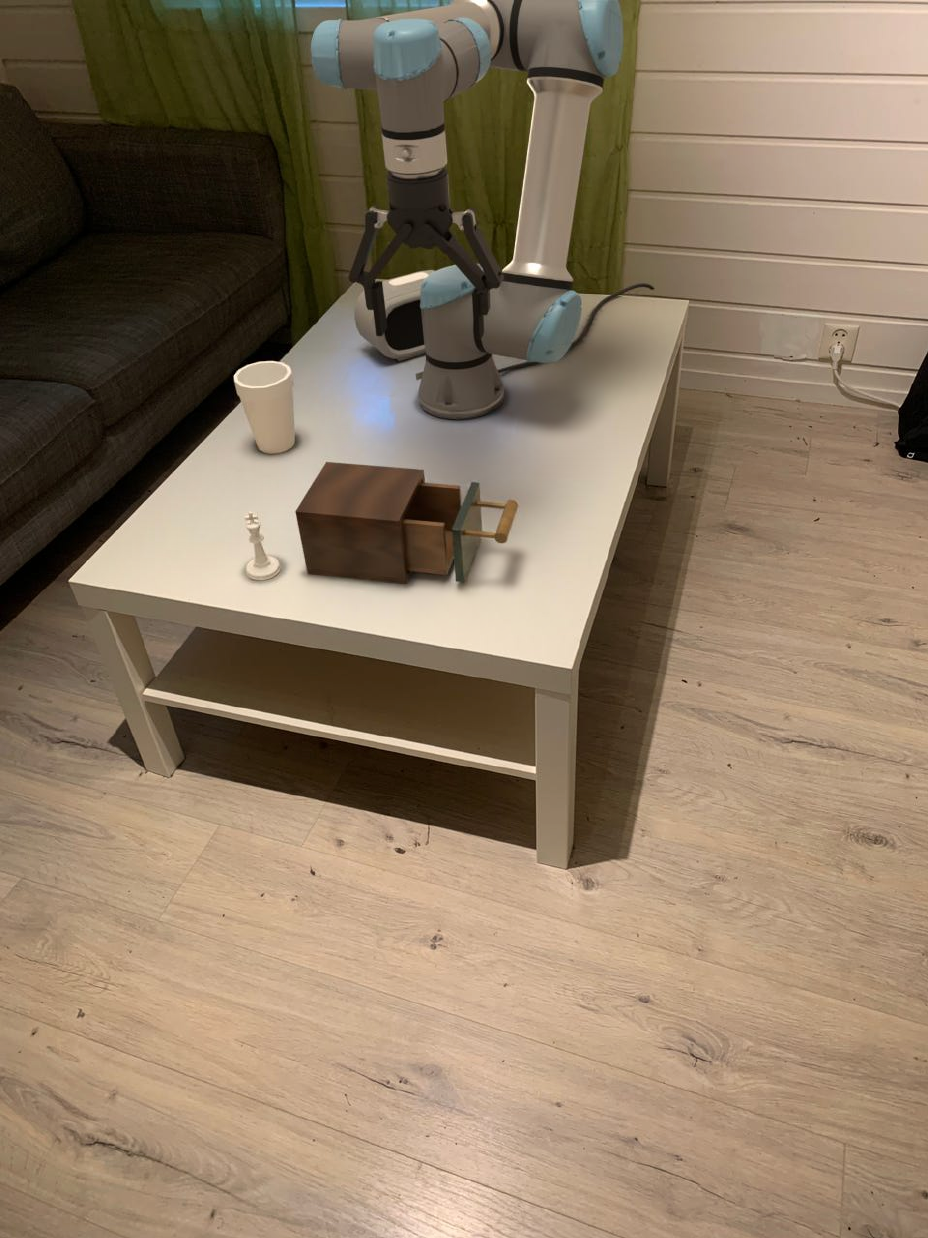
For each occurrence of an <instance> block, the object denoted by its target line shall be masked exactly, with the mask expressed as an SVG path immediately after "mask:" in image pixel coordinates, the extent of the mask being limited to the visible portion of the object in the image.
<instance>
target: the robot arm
mask: <svg viewBox="0 0 928 1238" xmlns="http://www.w3.org/2000/svg"><path fill="white" fill-rule="evenodd" d="M622 15H623V14H622V10H621V6H620V3H619V0H452V1H451V2H450V3H449V4H448V5H442V6H435V7H430V8H425V9H417V10H412V11H405V12H400V13H399V12H398V13H394V14H387V15H381V16H377V17H371V18H365V19H358V20H357V19H356V20H354V19H353V20H349V19H347V20H346V19H344V18H339V19H329V20H328V19H327V20H324V21H322V22H320V23H319V24H318V25H317V26H316V28H315V29H314V32H313V35H312V39H311V43H310V54H311V65H312V69H313V72H314V74H315V75H316V77H317V79H318V81H320V82H321V83H322V84H323V85H325V86H328V87H333V88H334V87H335V88H340V89H341V90H347V89H355V90H356V89H357V90H370V91H371V90H374V91H377V97H378V98H377V99H378V107H379V114H380V115H379V116H380V121H381V122H380V123H381V126H380V127H381V140H382V148H383V158H384V166H385V169H386V170H387V171H388V172H387V173H386V177H385V179H386V188H387V199H388V206H389V208H388V210H384V209H381V208H380V207H379V206H378V205H372V206H371V207H370V208H369V209H368V210H367V212H366V213H365V215H364V225H365V226H364V232H363V235H362V238H361V241H360V244H359V246H358V249H357V251H356V255H355V257H354V260H353V263H352V266H351V269H350V272H349V273H348V281H349V282H350V283H352V284H355V283H357V284H360V285H361V286H362V287H363V291H364V292H365V300H366V307H367V309H368V310H373V312H374V320H375V329H376V336H382V335H383V334H384V332H385V331H386V329H387V320H386V311H385V302H384V293H383V284H382V280H381V281H380V280H379V281H378V280H377V278H378V277H379V276H380V274H381V273H382V272H383V270H384V269H385V268H386V266H387V265H388V263H389V262H390V261H391V259H392V258H393V256H395V254H396V253H397V251H398V250H399V249H400V247H401V246H402V245H405V246H406V247H408V249H415V250H416V249H418V248H422V249H426V250H433V249H434V248H436V247H437V248H438V249H439V250H440V252H442V253H443V254H444V255H446V256H447V257H448V258H449V259H450V260H451V262H452V263H453V264H454V265H449V266H445V267H443V268H439V269H436V270H434V271H435V272H433V273H431V274H430V275H428V276H427V277H426V278H425V279H424V280H423V282H422V284H421V303H420V308H421V313H422V323H423V334H424V345H425V353H424V354H425V362H424V367H423V371H420V372H417V373H415V380H416V381H419V380H420V383H419V387H418V402H419V406H420V407H421V408H422V410H423V411H425V412H426V413H427V414H428V415H432V416H434V417H438V418H440V419H446V420H468V419H473V418H479V417H482V416H485V415H487V414H489V413H492V412H493V411H495V410H497V409H498V408H499V407H500V406H501V405H502V403H503V401H504V398H505V389H504V383H503V381H502V378H501V376H500V374H502V373H505V372H509V371H512V370H515V369H520V368H524V367H529V366H532V365H537V364H539V363H544V364H553V363H557V362H559V361H560V360H561V359H563V358H564V357H565V355H566V354H567V353H568V351H570V350H571V349H573V348H574V347H575V346H577V345H578V344H579V343H580V342H581V341H582V339H583V338H584V337H585V334H586V333H587V331H588V329H589V327H590V325H591V323H592V321H593V318H594V316H595V314H596V313H597V311H598V310H599V309H600V308H601V307H602V306H603V305H604V304H606V303H607V302H608V301H610V300H611V299H614V298H616V297H618V296H620V295H622V294H625V293H627V292H629V291H632V290H634V289H638V288H647V289H649V290H651V291H654V290H655V287H654V286H653V285H651V284H650V283H645V282H643V283H636V284H633V285H630V286H627V287H626V288H623V289H621V290H618V291H616V292H615V293H612V294H609V295H608V296H606V297H605V298H603V299H602V300H601V301H600V302H599V303H598V304H596V306H595V307H594V308H592V311H591V312H590V314H589V316H588V319H587V321H586V323H585V325H584V327H583V329H582V330H581V333H579V335H578V337H577V338H576V335H577V332H578V330H579V326H580V322H581V317H582V309H583V308H582V298H581V296H580V294H579V293H578V292H576V291H575V290H573V285H574V278H573V276H572V275H571V274H570V272H569V271H568V269H567V262H568V255H569V249H570V242H571V236H572V228H573V223H574V215H575V209H576V201H577V195H578V188H579V182H580V175H581V169H582V163H583V156H584V149H585V143H586V136H587V130H588V123H589V122H588V121H589V116H590V109H591V104H592V102H593V101H594V100H595V99H596V98H598V97H599V96H601V94H602V93H603V90H604V82H605V78H607V79H610V78H611V77H614V76H615V75H616V74H617V73H618V71H619V68H620V65H621V63H622V58H623V51H624V50H623V49H624V22H623V16H622ZM489 68H493V69H499V70H500V69H501V70H507V71H514V72H526V73H527V76H526V77H527V78H526V84H527V86H528V87H529V88H530V89H531V91H532V92H533V96H534V99H533V100H534V101H533V108H532V115H531V123H530V129H529V137H528V143H527V144H528V145H527V152H526V153H527V154H526V160H525V166H524V167H525V168H524V176H523V182H522V190H521V198H520V204H519V211H518V221H517V227H516V233H515V234H516V236H515V243H514V251H513V258H512V260H511V262H510V263H509V264H507V265H506V266H505V267H504V268H503V269H501V268H500V266H499V264H498V262H497V259H496V258H495V255H494V254H493V252H492V250H491V248H490V246H489V245H488V242H487V240H486V239H485V236H484V235H483V233H482V231H481V229H480V227H479V224H478V218H477V217H478V216H477V212H476V209H475V208H474V207H469V208H467V209H466V210H463V211H455V212H454V211H453V209H452V207H451V202H450V187H449V171H448V170H447V168H446V167H445V166H446V165H447V164H448V153H447V140H446V125H445V110H444V108H445V106H444V102H447V101H448V100H449V99H451V98H453V97H455V96H457V95H459V94H461V93H463V92H466V91H468V90H470V89H471V88H474V86H475V85H476V84H477V83H478V82H480V81H481V80H482V79H483V78H484V76H486V74H487V72H488V71H489ZM386 222H387V224H388V225H389V227H390V228H391V229H392V230H393V232H394V233H395V236H394V237H393V238H392V240H391V241H390V242H389V244H388V245H387V247H386V248H385V249H384V251H383V252H382V254H381V255H380V256H379V258H378V259H377V260H376V262H375V263H374V264H373V266H372V268H371V269H370V270H369V271H365V268H366V265H367V262H368V260H369V258H370V254H371V252H372V249H373V246H374V243H375V240H376V238H377V236H378V233H379V230H380V229H381V228H382V227H383V226H384V224H385V223H386ZM453 224H455V225H457V227H458V229H459V230H460V231H462V232H463V233H464V236H465V239H466V241H467V243H468V245H469V247H470V248H471V251H472V253H473V254H474V256H475V258H476V260H477V262H478V263H477V262H476V261H475V260H474V258H473V257H472V256H471V255H470V254H469V253H468V252H467V250H466V249H465V248H464V247H463V246H462V244H460V242H459V241H458V238H457V237H456V235H455V233H453V231H452V230H451V227H452V226H453ZM376 280H377V281H376ZM575 338H576V339H575ZM493 355H496V356H502V357H508V358H513V359H518V360H524V361H525V362H522V363H521V362H520V363H517V364H512V365H510V366H505V367H502V368H500V369H499V368H497V365H496V363H495V359H494V358H493Z"/></svg>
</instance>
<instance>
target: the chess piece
mask: <svg viewBox="0 0 928 1238" xmlns="http://www.w3.org/2000/svg"><path fill="white" fill-rule="evenodd" d="M258 519H259V516H258V514H253V511H248V515H245V516H244V520H245V521H247V523H246V524H245V528H246V529H247V531H248V532H249V534H250V535H249V536H248V541H249V543H251V544H253V547H254V548H253V549H254V558H253V559H251V560H250V561H249V562H248V563H247V565H246V567H245V570H246V575H247V577H248V578H249V579H251V580H255V581H266V580H269V579H271V578H274V577H276V576H277V575H278V574H279V573H280V571H281V564H280V561H279V559H277V558H276V557H275V556H271V555H266V552H265V549H264V546H263V544H262V542H263V541H264V539H265V536H264V535H263V534H262V533H261V531H260V530H261V521H259V520H258Z"/></svg>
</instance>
